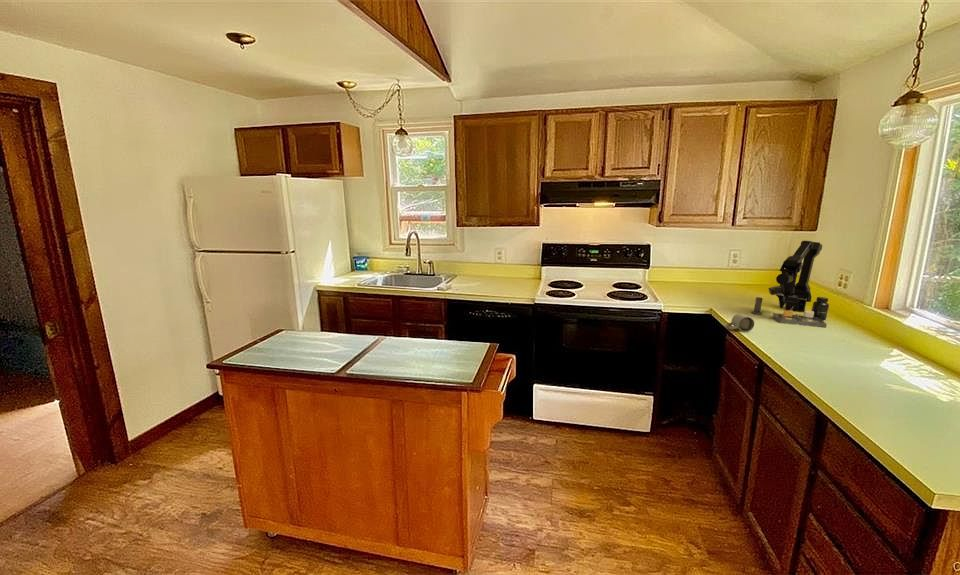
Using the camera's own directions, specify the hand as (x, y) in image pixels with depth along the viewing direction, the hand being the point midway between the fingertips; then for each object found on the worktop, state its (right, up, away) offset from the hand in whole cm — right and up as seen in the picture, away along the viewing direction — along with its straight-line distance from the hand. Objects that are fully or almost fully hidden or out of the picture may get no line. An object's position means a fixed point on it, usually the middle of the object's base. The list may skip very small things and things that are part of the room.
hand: (783, 310), depth 231 cm
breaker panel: (+2, -6, -8) cm, 10 cm away
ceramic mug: (-38, -9, -21) cm, 44 cm away
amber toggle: (-2, -3, -6) cm, 7 cm away
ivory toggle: (+8, -3, -7) cm, 11 cm away
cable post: (-11, -2, +6) cm, 13 cm away
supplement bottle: (+17, -5, -2) cm, 18 cm away
